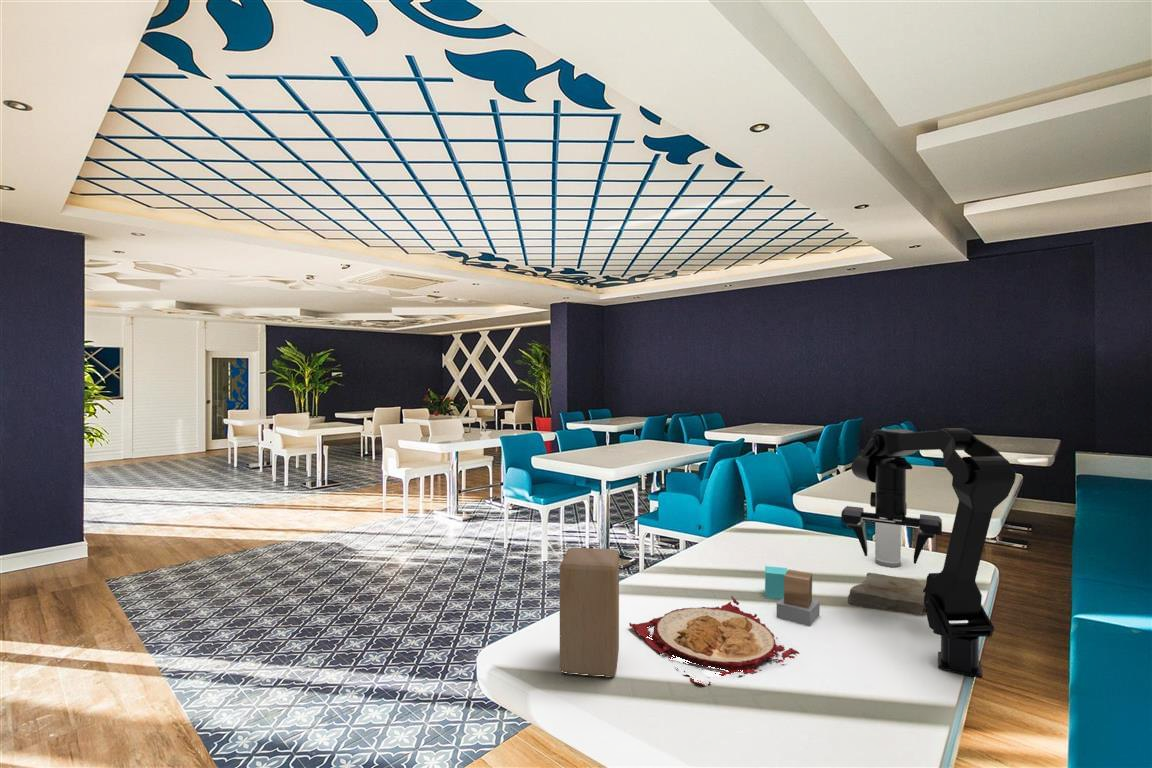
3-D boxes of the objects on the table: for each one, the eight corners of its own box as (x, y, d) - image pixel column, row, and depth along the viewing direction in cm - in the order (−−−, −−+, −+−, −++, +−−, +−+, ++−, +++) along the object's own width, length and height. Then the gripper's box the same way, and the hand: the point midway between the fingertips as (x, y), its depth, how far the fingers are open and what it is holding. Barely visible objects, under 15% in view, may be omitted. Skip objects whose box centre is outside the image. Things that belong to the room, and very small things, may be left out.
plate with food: (627, 632, 118) (627, 615, 118) (730, 608, 128) (730, 592, 128) (698, 695, 95) (698, 674, 95) (815, 659, 106) (815, 641, 106)
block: (558, 676, 99) (558, 562, 99) (567, 648, 109) (567, 545, 109) (615, 680, 98) (615, 565, 97) (619, 652, 108) (619, 547, 107)
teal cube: (787, 600, 133) (787, 574, 133) (765, 597, 134) (765, 572, 134) (786, 592, 138) (786, 568, 137) (765, 590, 139) (765, 566, 139)
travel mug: (869, 562, 160) (869, 491, 160) (885, 558, 163) (885, 489, 162) (889, 569, 154) (890, 495, 154) (905, 565, 157) (906, 493, 157)
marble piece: (847, 605, 130) (847, 587, 130) (851, 585, 143) (851, 568, 143) (932, 620, 122) (932, 601, 122) (928, 597, 135) (928, 580, 135)
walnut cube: (808, 608, 120) (808, 580, 120) (783, 603, 123) (784, 575, 123) (811, 600, 125) (812, 573, 125) (788, 595, 127) (788, 569, 127)
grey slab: (809, 628, 119) (809, 611, 119) (776, 619, 123) (776, 603, 123) (819, 617, 124) (819, 601, 124) (787, 608, 129) (787, 593, 129)
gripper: (941, 485, 124) (941, 556, 124) (847, 477, 134) (847, 543, 134) (942, 494, 114) (941, 571, 114) (841, 485, 124) (840, 555, 124)
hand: (889, 559), depth 122 cm, fingers open, 9 cm apart
